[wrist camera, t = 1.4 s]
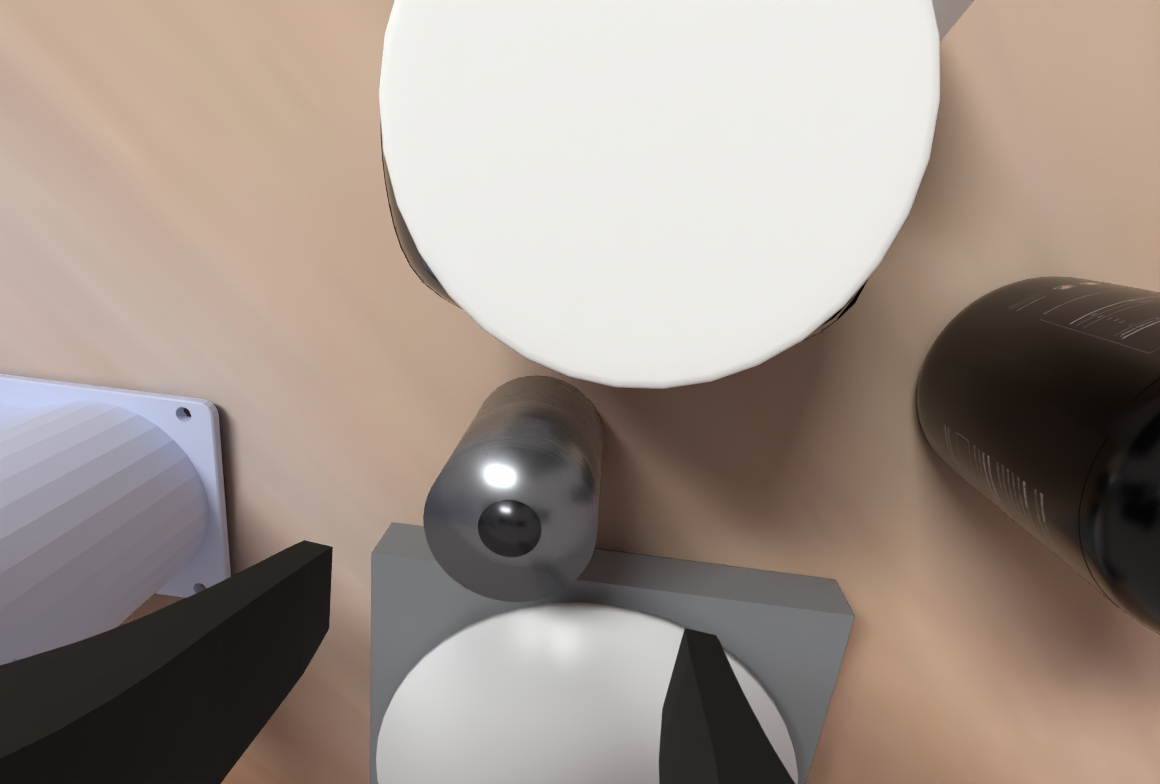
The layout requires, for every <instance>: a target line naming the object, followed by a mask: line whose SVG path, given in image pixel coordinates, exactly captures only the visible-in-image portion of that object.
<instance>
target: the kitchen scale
mask: <svg viewBox="0 0 1160 784" xmlns="http://www.w3.org/2000/svg"><path fill="white" fill-rule="evenodd" d="M854 618H855V615H854V613H853V611H852V609H851V608H850V606H849V604H848V602H847V600H846V598H845V596H844V595H843V593H842V591H841V589H840V587H839V585H838V583H837V581H836V580H834V579H826V578H818V577H810V576H803V575H795V574H787V573H779V572H772V571H764V570H756V569H748V568H740V567H733V566H725V565H717V564H709V563H702V562H694V561H686V560H678V559H671V558H663V557H655V556H647V555H640V554H632V553H624V552H616V551H608V550H601V549H594V552H593V554H592V557H591V559H590V561H589V563H588V565H587V567H586V568H585V569H584V571H583V572H582V573H581V575H580V576H579V577H578V578H577V579H576V580H575V581H574V582H572V583H571V584H570V585H569V586H567V587H566V588H564V589H563V590H561V591H559V592H557V593H555V594H553V595H551V596H548V597H546V598H542V599H538V600H534V601H527V602H506V601H499V600H494V599H490V598H487V597H484V596H481V595H479V594H476V593H474V592H472V591H470V590H468V589H466V588H465V587H463V586H462V585H460V584H459V583H457V582H456V581H455V580H453V579H452V578H451V577H450V576H449V575H448V574H447V573H446V572H445V571H444V570H443V569H442V567H441V566H440V565H439V564H438V562H437V561H436V559H435V558H434V556H433V554H432V552H431V550H430V548H429V545H428V542H427V539H426V536H425V530H424V527H422V526H414V525H406V524H399V523H391V525H390V526H389V528H388V529H387V531H386V532H385V534H384V535H383V537H382V538H381V540H380V541H379V543H378V544H377V546H376V547H375V549H374V550H373V552H372V557H371V741H370V784H659V748H660V733H661V720H662V708H663V704H664V701H665V697H666V693H667V690H668V686H669V683H670V679H671V675H672V672H673V668H674V665H675V661H676V657H677V654H678V650H679V647H680V643H681V640H682V636H683V632H684V629H685V628H687V629H691V630H696V631H700V632H705V633H709V634H713V635H716V636H717V638H718V639H719V641H720V643H721V645H722V647H723V650H724V652H725V654H726V656H727V659H728V661H729V663H730V665H731V667H732V670H733V672H734V674H735V676H736V678H737V680H738V682H739V684H740V686H741V688H742V690H743V692H744V694H745V696H746V698H747V700H748V702H749V704H750V706H751V708H752V710H753V712H754V714H755V715H756V717H757V719H758V721H759V723H760V725H761V727H762V729H763V730H764V732H765V734H766V736H767V738H768V739H769V741H770V743H771V745H772V746H773V748H774V750H775V751H776V753H777V755H778V756H779V758H780V760H781V761H782V763H783V765H784V766H785V768H786V770H787V771H788V773H789V775H790V776H791V778H792V779H793V781H794V782H795V784H806V781H807V778H808V774H809V771H810V768H811V764H812V761H813V757H814V754H815V751H816V747H817V744H818V740H819V737H820V734H821V730H822V727H823V723H824V720H825V716H826V713H827V710H828V706H829V703H830V699H831V696H832V693H833V689H834V686H835V682H836V679H837V676H838V672H839V669H840V665H841V662H842V659H843V655H844V652H845V648H846V645H847V642H848V638H849V635H850V631H851V628H852V625H853V621H854Z"/></svg>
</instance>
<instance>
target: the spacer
mask: <svg viewBox="0 0 1160 784" xmlns="http://www.w3.org/2000/svg"><path fill="white" fill-rule="evenodd" d="M603 439H604V437H603V428H602V423H601V420H600V418H599V415H598V413H597V411H596V409H595V407H594V406H593V404H592V403H591V402H590V400H589V399H588V398H587V397H586V396H585V395H584V394H583V393H582V392H581V391H579V390H578V389H577V388H575V387H574V386H572V385H570V384H569V383H566V382H564V381H562V380H559V379H556V378H552V377H547V376H526V377H521V378H517V379H514V380H511V381H509V382H507V383H505V384H503V385H502V386H500V387H499V388H497V389H496V390H495V391H494V392H493V393H491V394H490V396H489V397H488V398H487V399H486V400H485V402H484V404H483V405H482V407H481V408H480V410H479V412H478V413H477V415H476V416H475V418H474V420H473V421H472V423H471V425H470V426H469V428H468V429H467V431H466V433H465V434H464V436H463V437H462V439H461V441H460V442H459V444H458V446H457V447H456V449H455V450H454V452H453V454H452V455H451V457H450V458H449V460H448V462H447V463H446V465H445V466H444V468H443V470H442V471H441V473H440V475H439V476H438V478H437V479H436V481H435V483H434V484H433V486H432V487H431V490H430V492H429V494H428V496H427V500H426V504H425V508H424V530H425V536H426V539H427V542H428V545H429V548H430V550H431V552H432V554H433V556H434V558H435V559H436V561H437V562H438V564H439V565H440V566H441V567H442V569H443V570H444V571H445V572H446V573H447V574H448V575H449V576H450V577H451V578H452V579H453V580H455V581H456V582H457V583H459V584H460V585H462V586H463V587H465V588H466V589H468V590H470V591H472V592H474V593H476V594H479V595H481V596H484V597H487V598H490V599H494V600H499V601H506V602H527V601H534V600H538V599H542V598H546V597H548V596H551V595H553V594H555V593H557V592H559V591H561V590H563V589H564V588H566V587H567V586H569V585H570V584H571V583H572V582H574V581H575V580H576V579H577V578H578V577H579V576H580V575H581V573H582V572H583V571H584V569H585V568H586V567H587V565H588V563H589V561H590V559H591V557H592V554H593V552H594V549H595V544H596V540H597V526H598V512H599V497H600V483H601V468H602V454H603Z"/></svg>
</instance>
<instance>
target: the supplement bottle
mask: <svg viewBox="0 0 1160 784" xmlns="http://www.w3.org/2000/svg"><path fill="white" fill-rule="evenodd" d="M917 408H918V415H919V419H920V423H921V426H922V429H923V432H924V434H925V437H926V438H927V440H928V442H929V444H930V446H931V447H932V449H933V450H934V451H935V453H936V454H937V455H938V456H939V457H940V458H941V460H942V461H943V462H944V463H945V464H947V465H948V466H949V467H950V468H951V469H952V470H953V471H954V472H955V473H957V474H958V475H959V476H960V477H961V478H962V479H963V480H965V481H966V482H967V483H968V484H969V485H971V486H972V487H973V488H974V489H975V490H977V491H978V492H979V493H980V494H981V495H983V496H984V497H985V498H986V499H988V500H989V501H990V502H991V503H992V504H994V505H995V506H996V507H997V508H998V509H1000V510H1001V511H1002V512H1003V513H1004V514H1006V515H1007V516H1008V517H1009V518H1011V519H1012V520H1013V521H1014V522H1015V523H1017V524H1018V525H1019V526H1020V527H1021V528H1023V529H1024V530H1025V531H1026V532H1028V533H1029V534H1030V535H1031V536H1032V537H1034V538H1035V539H1036V540H1037V541H1038V542H1040V543H1041V544H1042V545H1043V546H1044V547H1046V548H1047V549H1048V550H1049V551H1051V552H1052V553H1053V554H1054V555H1055V556H1057V557H1058V558H1059V559H1060V560H1061V561H1063V562H1064V563H1065V564H1066V565H1067V566H1069V567H1070V568H1071V569H1072V570H1074V571H1075V572H1076V573H1077V574H1078V575H1080V576H1081V577H1082V578H1083V579H1084V580H1086V581H1087V582H1088V583H1089V584H1090V585H1092V586H1093V587H1094V588H1095V589H1097V590H1098V591H1099V592H1100V593H1101V594H1103V595H1104V596H1105V597H1106V598H1107V599H1109V600H1110V601H1111V602H1112V603H1114V604H1115V605H1116V606H1118V607H1119V608H1120V609H1122V610H1123V611H1124V612H1126V613H1127V614H1128V615H1130V616H1131V617H1133V618H1134V619H1135V620H1137V621H1138V622H1139V623H1141V624H1142V625H1144V626H1146V627H1147V628H1149V629H1151V630H1152V631H1154V632H1156V633H1158V634H1160V292H1154V291H1149V290H1143V289H1138V288H1132V287H1127V286H1121V285H1116V284H1111V283H1105V282H1099V281H1092V280H1086V279H1079V278H1072V277H1039V278H1033V279H1027V280H1023V281H1019V282H1015V283H1012V284H1009V285H1006V286H1003V287H1001V288H999V289H996V290H994V291H992V292H990V293H988V294H986V295H984V296H982V297H981V298H979V299H978V300H976V301H975V302H973V303H971V304H970V305H969V306H968V307H966V308H965V309H964V310H962V311H961V312H960V313H959V314H958V315H957V316H956V317H955V318H954V319H953V320H952V321H951V322H950V323H949V324H948V325H947V326H946V327H945V328H944V330H943V331H942V332H941V333H940V335H939V336H938V337H937V339H936V341H935V342H934V344H933V345H932V347H931V349H930V351H929V353H928V355H927V357H926V359H925V362H924V364H923V367H922V370H921V374H920V378H919V383H918V390H917Z"/></svg>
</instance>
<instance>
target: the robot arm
mask: <svg viewBox="0 0 1160 784" xmlns="http://www.w3.org/2000/svg"><path fill="white" fill-rule="evenodd" d="M183 408H187V409H188V410H189V411H190V413H191V417H188V416H187V415H186V414H185V413H184V410H183ZM332 548H333V547H331V546H326V545H322V544H317V543H313V542H309V541H302V542H300V543H297V544H295V545H293V546H291V547H289V548H287V549H285V550H283V551H281V552H279V553H277V554H275V555H273V556H271V557H269V558H267V559H265V560H263V561H261V562H259V563H257V564H255V565H253V566H251V567H249V568H247V569H245V570H243V571H241V572H239V573H237V574H235V575H233V576H231V571H230V558H229V545H228V532H227V518H226V505H225V492H224V479H223V466H222V453H221V440H220V427H219V414H218V411H217V408H216V407H215V406H214V404H213V403H211V402H210V401H208V400H205V399H199V398H191V397H183V396H175V395H167V394H159V393H151V392H143V391H135V390H127V389H119V388H111V387H103V386H95V385H87V384H79V383H71V382H63V381H55V380H47V379H39V378H31V377H23V376H15V375H7V374H0V784H221V782H222V781H223V780H224V778H225V777H226V775H227V774H228V773H229V771H230V770H231V769H232V767H233V766H234V765H235V763H236V762H237V761H238V760H239V758H240V757H241V756H242V754H243V753H244V752H245V750H246V749H247V748H248V746H249V745H250V744H251V742H252V741H253V740H254V738H255V737H256V736H257V734H258V733H259V732H260V731H261V729H262V728H263V727H264V725H265V724H266V723H267V721H268V720H269V719H270V717H271V716H272V715H273V713H274V712H275V711H276V709H277V708H278V707H279V705H280V704H281V703H282V701H283V700H284V699H285V697H286V696H287V695H288V693H289V692H290V691H291V689H292V688H293V687H294V685H295V684H296V683H297V681H298V680H299V678H300V677H301V676H302V674H303V673H304V671H305V669H306V668H307V666H308V664H309V663H310V661H311V659H312V658H313V656H314V654H315V653H316V651H317V649H318V647H319V645H320V644H321V642H322V640H323V638H324V636H325V635H326V633H327V631H328V629H329V616H330V593H331V570H332ZM201 584H203V585H204V586H205V587H206V588H203V587H202V586H201ZM154 594H162V595H169V596H177V597H184V598H185V599H183V600H180V601H178V602H176V603H174V604H172V605H169V606H167V607H165V608H163V609H161V610H158V611H156V612H154V613H152V614H149V615H147V616H144V617H142V618H140V619H137V620H135V621H132V622H130V623H127V624H124V625H122V626H119V627H117V626H118V625H120V624H121V623H122V622H123V621H124V620H125V619H126V618H127V617H129V616H130V615H131V614H132V613H133V612H134V611H135V610H137V609H138V608H139V607H140V606H141V605H142V604H143V603H144V602H146V601H147V600H148V599H149V598H150V597H151V596H152V595H154ZM116 627H117V628H116ZM659 784H795V782H794V781H793V779H792V778H791V776H790V775H789V773H788V771H787V770H786V768H785V766H784V765H783V763H782V761H781V760H780V758H779V756H778V755H777V753H776V751H775V750H774V748H773V746H772V745H771V743H770V741H769V739H768V738H767V736H766V734H765V732H764V730H763V729H762V727H761V725H760V723H759V721H758V719H757V717H756V715H755V714H754V712H753V710H752V708H751V706H750V704H749V702H748V700H747V698H746V696H745V694H744V692H743V690H742V688H741V686H740V684H739V682H738V680H737V678H736V676H735V674H734V672H733V670H732V667H731V665H730V663H729V661H728V659H727V656H726V654H725V652H724V650H723V647H722V645H721V643H720V641H719V639H718V638H717V636H716V635H713V634H709V633H705V632H700V631H696V630H691V629H687V628H685V629H684V632H683V636H682V640H681V643H680V647H679V650H678V654H677V657H676V661H675V665H674V668H673V672H672V675H671V679H670V683H669V686H668V690H667V693H666V697H665V701H664V704H663V708H662V720H661V733H660V748H659Z"/></svg>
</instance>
